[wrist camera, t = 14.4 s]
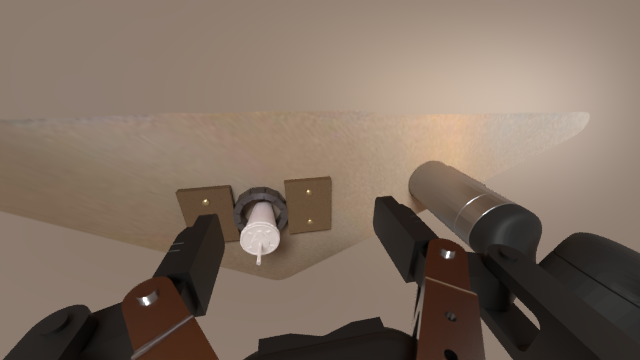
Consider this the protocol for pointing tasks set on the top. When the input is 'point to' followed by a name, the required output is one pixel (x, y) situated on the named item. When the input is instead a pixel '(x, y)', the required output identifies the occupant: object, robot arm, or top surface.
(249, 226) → the smoothie
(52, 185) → the top surface
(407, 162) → the top surface
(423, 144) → the top surface
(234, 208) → the hinge base
